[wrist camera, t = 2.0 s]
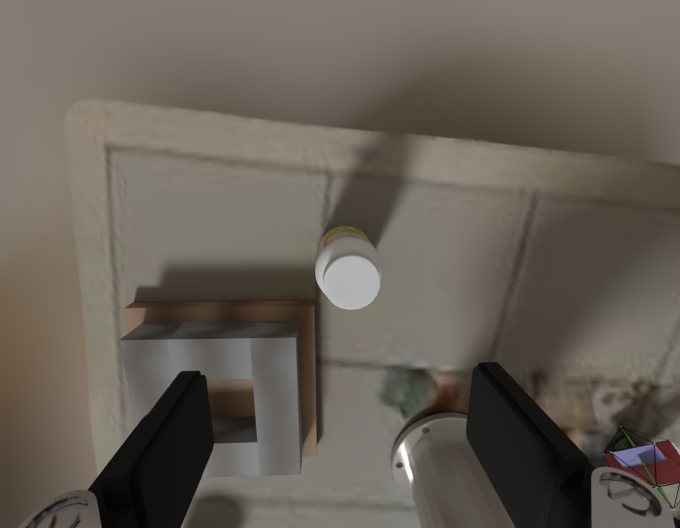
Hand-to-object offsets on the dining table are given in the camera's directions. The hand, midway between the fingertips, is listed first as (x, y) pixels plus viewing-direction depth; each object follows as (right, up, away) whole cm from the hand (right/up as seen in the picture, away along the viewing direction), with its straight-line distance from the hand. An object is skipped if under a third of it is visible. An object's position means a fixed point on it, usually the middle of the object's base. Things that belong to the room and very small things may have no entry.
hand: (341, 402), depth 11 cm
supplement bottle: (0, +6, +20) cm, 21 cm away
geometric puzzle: (+34, -17, +28) cm, 47 cm away
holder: (-12, -8, +23) cm, 27 cm away
